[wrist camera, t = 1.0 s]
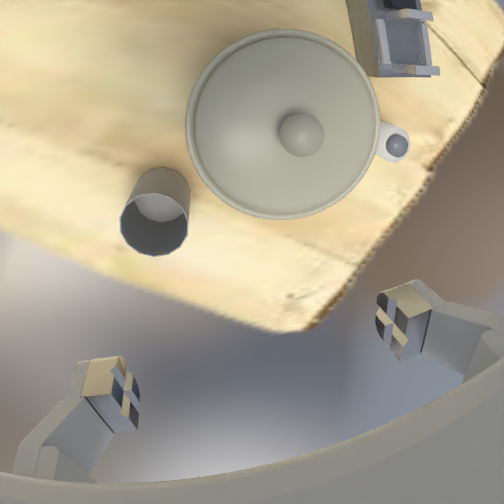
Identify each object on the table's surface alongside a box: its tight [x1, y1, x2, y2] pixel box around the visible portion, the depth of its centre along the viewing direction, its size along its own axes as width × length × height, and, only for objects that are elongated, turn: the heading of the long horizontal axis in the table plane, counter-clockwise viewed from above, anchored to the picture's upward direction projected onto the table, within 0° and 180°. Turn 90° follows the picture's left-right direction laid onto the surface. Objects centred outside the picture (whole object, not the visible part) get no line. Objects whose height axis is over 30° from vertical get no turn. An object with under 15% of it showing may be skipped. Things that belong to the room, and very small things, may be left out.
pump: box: [375, 120, 410, 162], centre depth 40 cm, size 5×5×9 cm
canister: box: [185, 29, 380, 220], centre depth 31 cm, size 18×18×21 cm
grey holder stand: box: [346, 0, 440, 77], centre depth 30 cm, size 14×9×11 cm, turn 10°
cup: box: [120, 167, 190, 257], centre depth 40 cm, size 8×8×10 cm
